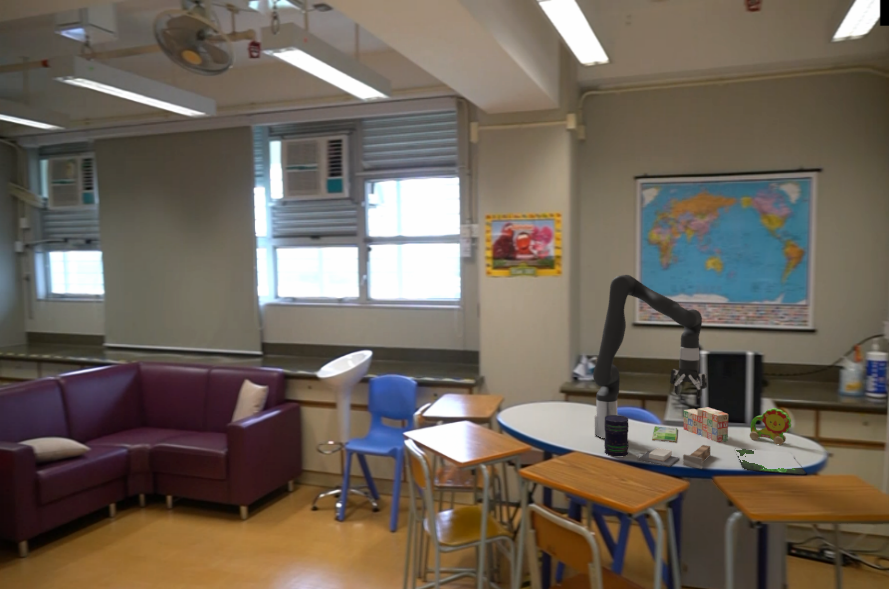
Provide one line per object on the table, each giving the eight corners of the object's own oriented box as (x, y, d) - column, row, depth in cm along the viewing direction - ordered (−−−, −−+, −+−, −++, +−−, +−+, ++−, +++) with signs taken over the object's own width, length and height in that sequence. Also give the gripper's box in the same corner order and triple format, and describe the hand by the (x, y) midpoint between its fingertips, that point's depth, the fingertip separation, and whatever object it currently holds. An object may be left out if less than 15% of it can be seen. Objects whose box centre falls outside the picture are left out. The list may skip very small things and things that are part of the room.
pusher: (697, 453, 255) (697, 443, 254) (715, 456, 250) (715, 447, 250) (683, 464, 242) (683, 455, 241) (701, 468, 237) (701, 458, 237)
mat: (637, 460, 248) (637, 458, 248) (648, 452, 256) (648, 451, 256) (669, 466, 240) (669, 465, 239) (679, 459, 248) (679, 457, 248)
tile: (657, 452, 255) (649, 458, 248) (657, 447, 255) (649, 453, 248) (671, 455, 251) (663, 461, 244) (671, 450, 251) (663, 456, 244)
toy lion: (748, 439, 270) (749, 406, 269) (753, 436, 274) (753, 403, 273) (788, 447, 259) (788, 412, 258) (792, 444, 263) (792, 409, 262)
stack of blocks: (682, 429, 288) (683, 403, 287) (693, 427, 290) (693, 402, 289) (717, 442, 268) (717, 415, 267) (728, 440, 270) (728, 413, 269)
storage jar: (604, 448, 263) (603, 414, 262) (627, 449, 261) (627, 415, 260) (604, 456, 253) (604, 421, 252) (629, 457, 251) (629, 422, 250)
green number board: (652, 441, 272) (676, 443, 269) (652, 438, 272) (676, 440, 269) (654, 428, 291) (677, 430, 287) (654, 425, 291) (677, 427, 287)
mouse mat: (733, 448, 260) (733, 446, 260) (791, 452, 253) (791, 450, 253) (742, 471, 234) (743, 468, 234) (807, 476, 227) (807, 474, 227)
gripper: (668, 357, 254) (667, 395, 255) (703, 361, 244) (702, 401, 246) (675, 354, 259) (674, 391, 261) (710, 358, 250) (708, 397, 251)
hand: (687, 396), depth 253 cm, fingers open, 8 cm apart
